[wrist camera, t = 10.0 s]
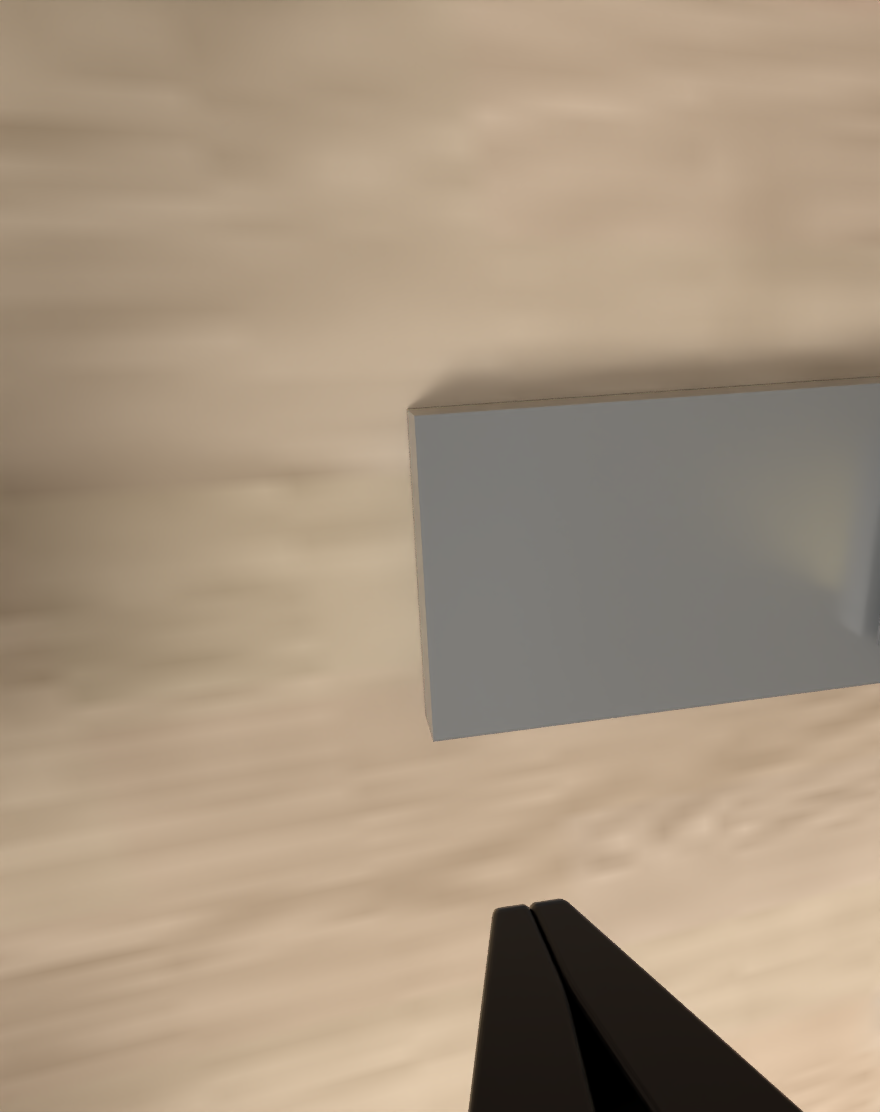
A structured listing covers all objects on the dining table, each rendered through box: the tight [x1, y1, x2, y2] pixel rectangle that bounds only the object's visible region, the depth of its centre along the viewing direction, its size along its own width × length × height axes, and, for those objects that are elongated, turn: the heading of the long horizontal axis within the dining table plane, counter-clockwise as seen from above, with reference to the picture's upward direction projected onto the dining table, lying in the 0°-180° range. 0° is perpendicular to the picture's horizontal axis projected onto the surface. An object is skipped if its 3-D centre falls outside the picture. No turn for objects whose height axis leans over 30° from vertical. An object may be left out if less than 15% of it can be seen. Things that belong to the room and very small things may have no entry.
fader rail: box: [407, 376, 880, 742], centre depth 21 cm, size 20×9×4 cm, turn 93°
